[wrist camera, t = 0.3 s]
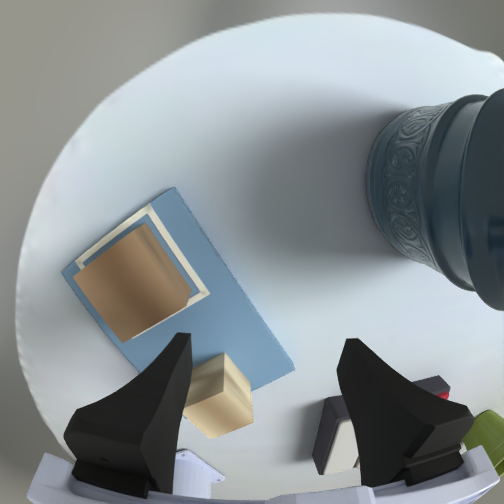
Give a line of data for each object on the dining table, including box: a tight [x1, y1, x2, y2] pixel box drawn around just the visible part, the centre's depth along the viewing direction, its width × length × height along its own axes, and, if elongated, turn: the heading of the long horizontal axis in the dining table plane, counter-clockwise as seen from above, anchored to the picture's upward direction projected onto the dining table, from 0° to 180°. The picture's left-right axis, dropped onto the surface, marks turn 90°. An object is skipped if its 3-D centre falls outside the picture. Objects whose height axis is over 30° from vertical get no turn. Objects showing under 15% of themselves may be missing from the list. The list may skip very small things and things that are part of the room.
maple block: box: [183, 352, 254, 439], centre depth 22 cm, size 4×4×5 cm
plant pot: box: [462, 410, 504, 477], centre depth 28 cm, size 12×12×11 cm
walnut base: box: [73, 223, 192, 343], centre depth 20 cm, size 6×6×3 cm
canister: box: [366, 88, 504, 311], centre depth 14 cm, size 13×13×18 cm
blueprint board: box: [61, 187, 295, 419], centre depth 23 cm, size 12×18×1 cm, turn 31°
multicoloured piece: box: [312, 375, 450, 475], centre depth 28 cm, size 11×4×15 cm
